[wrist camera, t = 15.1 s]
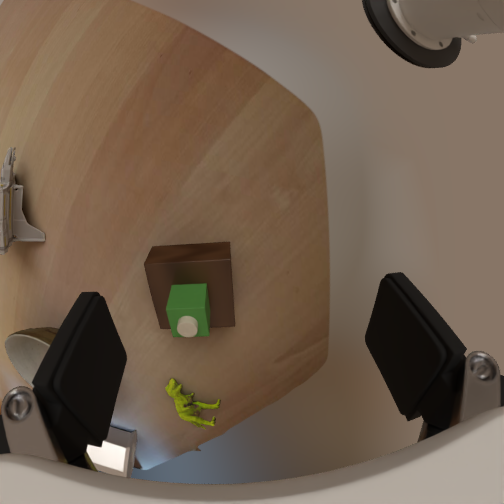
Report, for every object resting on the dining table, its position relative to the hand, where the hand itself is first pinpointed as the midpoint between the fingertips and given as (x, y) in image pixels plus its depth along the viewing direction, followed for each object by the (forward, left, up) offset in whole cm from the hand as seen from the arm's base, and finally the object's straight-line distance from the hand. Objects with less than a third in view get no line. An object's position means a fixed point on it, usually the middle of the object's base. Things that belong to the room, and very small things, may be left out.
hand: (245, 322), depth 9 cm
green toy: (+6, +16, -23) cm, 29 cm away
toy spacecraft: (+34, -1, -28) cm, 44 cm away
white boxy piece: (+45, +67, -28) cm, 86 cm away
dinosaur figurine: (+12, +50, -28) cm, 59 cm away
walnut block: (+6, +16, -28) cm, 33 cm away
